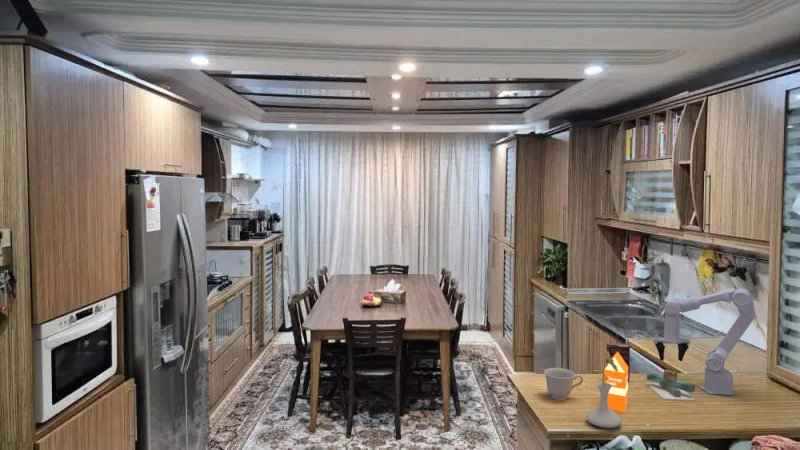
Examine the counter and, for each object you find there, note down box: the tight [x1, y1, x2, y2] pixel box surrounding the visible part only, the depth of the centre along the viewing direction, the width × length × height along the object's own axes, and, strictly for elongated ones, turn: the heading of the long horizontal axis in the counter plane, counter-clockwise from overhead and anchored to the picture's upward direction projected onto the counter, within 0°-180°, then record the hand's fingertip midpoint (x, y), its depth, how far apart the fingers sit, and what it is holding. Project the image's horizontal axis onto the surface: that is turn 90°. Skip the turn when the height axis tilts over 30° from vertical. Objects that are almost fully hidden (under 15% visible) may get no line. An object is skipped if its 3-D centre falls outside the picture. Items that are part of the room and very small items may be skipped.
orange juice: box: [603, 352, 629, 413], centre depth 191 cm, size 8×9×20 cm
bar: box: [646, 369, 696, 393], centre depth 205 cm, size 18×3×6 cm, turn 34°
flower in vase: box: [585, 350, 622, 429], centre depth 175 cm, size 13×11×25 cm
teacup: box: [543, 367, 584, 401], centre depth 198 cm, size 12×15×10 cm
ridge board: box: [645, 381, 697, 402], centre depth 206 cm, size 12×18×3 cm, turn 175°
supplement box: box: [605, 343, 631, 384], centre depth 218 cm, size 9×5×16 cm, turn 84°
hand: (670, 360), depth 216 cm, fingers open, 7 cm apart
